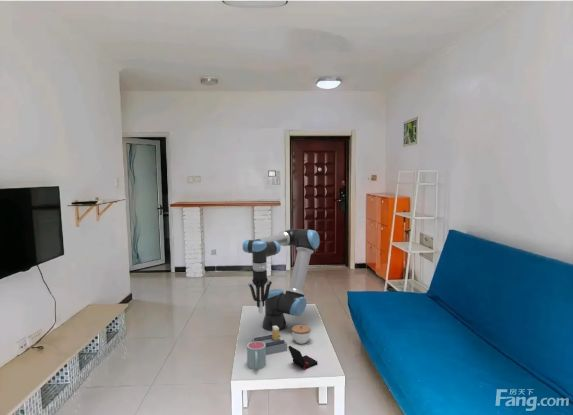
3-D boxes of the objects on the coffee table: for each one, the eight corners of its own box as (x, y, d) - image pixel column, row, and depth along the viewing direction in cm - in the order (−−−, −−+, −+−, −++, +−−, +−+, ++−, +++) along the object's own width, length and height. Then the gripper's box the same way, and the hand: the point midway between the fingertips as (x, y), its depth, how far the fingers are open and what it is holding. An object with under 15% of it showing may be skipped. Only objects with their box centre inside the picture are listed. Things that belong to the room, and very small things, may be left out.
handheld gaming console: (318, 364, 185) (318, 345, 184) (299, 372, 177) (299, 352, 177) (306, 357, 192) (305, 339, 192) (287, 364, 185) (287, 345, 184)
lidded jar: (314, 340, 213) (314, 324, 212) (304, 347, 204) (304, 330, 203) (298, 336, 219) (298, 320, 218) (288, 342, 210) (288, 326, 209)
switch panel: (278, 341, 211) (278, 333, 211) (286, 350, 200) (286, 341, 200) (252, 346, 205) (251, 338, 205) (259, 356, 194) (258, 347, 194)
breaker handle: (277, 337, 207) (277, 324, 206) (280, 340, 202) (280, 328, 202) (271, 338, 205) (271, 325, 205) (274, 341, 201) (274, 329, 200)
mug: (247, 360, 189) (247, 341, 189) (265, 359, 190) (265, 341, 189) (246, 374, 176) (246, 354, 175) (266, 373, 176) (265, 353, 176)
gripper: (250, 272, 192) (251, 316, 193) (273, 270, 197) (274, 313, 199) (246, 269, 198) (247, 312, 200) (268, 267, 204) (269, 308, 205)
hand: (260, 312), depth 199 cm, fingers closed
